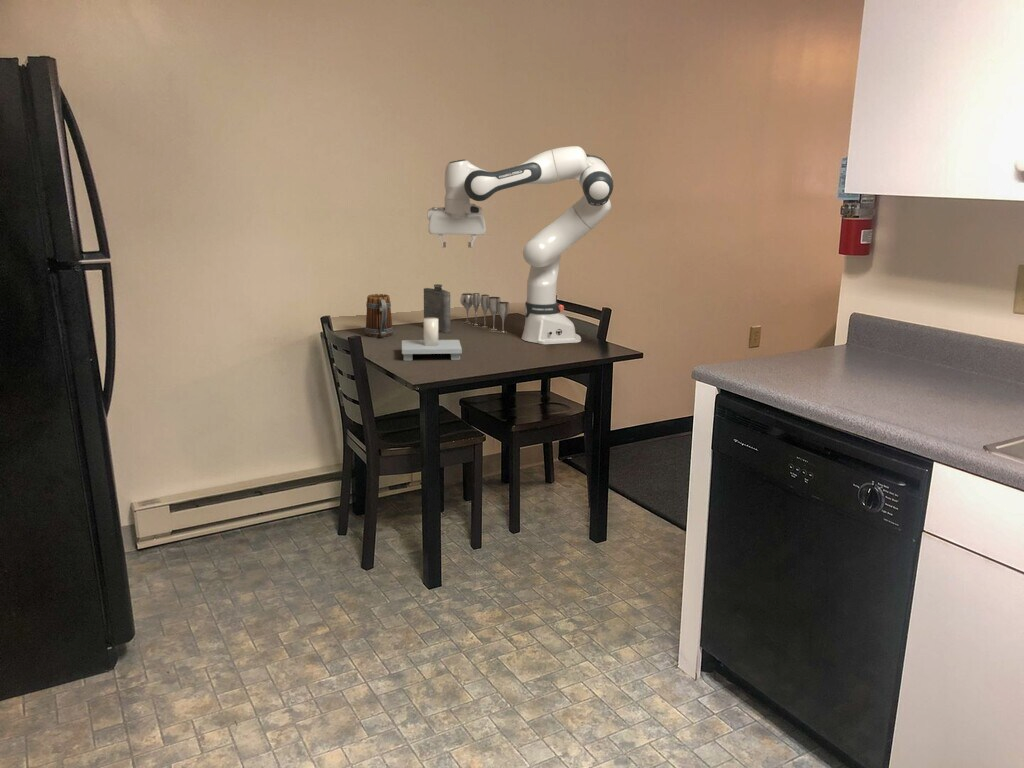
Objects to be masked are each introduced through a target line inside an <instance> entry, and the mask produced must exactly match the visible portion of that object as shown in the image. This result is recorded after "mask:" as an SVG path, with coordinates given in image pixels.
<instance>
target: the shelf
mask: <svg viewBox="0 0 1024 768" xmlns="http://www.w3.org/2000/svg"><path fill="white" fill-rule="evenodd" d="M462 353H463V348H462V345H461V342H460V339H438V345H437V346H425V345H424V339H406V340H405V339H403V340H402V339H401V354H402V355H403V361H407V362H408V361H413V360H414V359H413V355H432V354H433V355H435V354H437V355H439V354H440V355H442V354H443V355H445V354H446V355H447V354H449V357H450V356H451V357H450V359H451V361H460V360H461V354H462Z"/></svg>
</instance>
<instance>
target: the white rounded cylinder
mask: <svg viewBox="0 0 1024 768" xmlns="http://www.w3.org/2000/svg"><path fill="white" fill-rule="evenodd" d="M423 340H424V345H425V346H437V345H438V340H439V331H438V318H434V317H428V318H424V317H423Z"/></svg>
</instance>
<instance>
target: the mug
mask: <svg viewBox="0 0 1024 768" xmlns="http://www.w3.org/2000/svg"><path fill="white" fill-rule="evenodd" d="M365 303H366V318H365V319H366V320H365V329H364V332H365V335H366V336H368V337H369V338H370V337H371V338H387V337H391V336H392V335H393V334H394V327H393V319H392V309H391V307H392V304H391V300H390V295H389V294H384V293H379V294H378V293H374V294H368V295H367V298H366V302H365Z"/></svg>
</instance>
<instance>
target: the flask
mask: <svg viewBox="0 0 1024 768" xmlns="http://www.w3.org/2000/svg"><path fill="white" fill-rule="evenodd" d="M442 287H443V284H438V283H437V284H433V288H431V287H425V288H423V319H424V318H428V317H434V318H438V332H439V331H441V332H440V333H442V332H443V333H442V334H450V333H451V292H450V291H447V290H445V289H443V288H442Z"/></svg>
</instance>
